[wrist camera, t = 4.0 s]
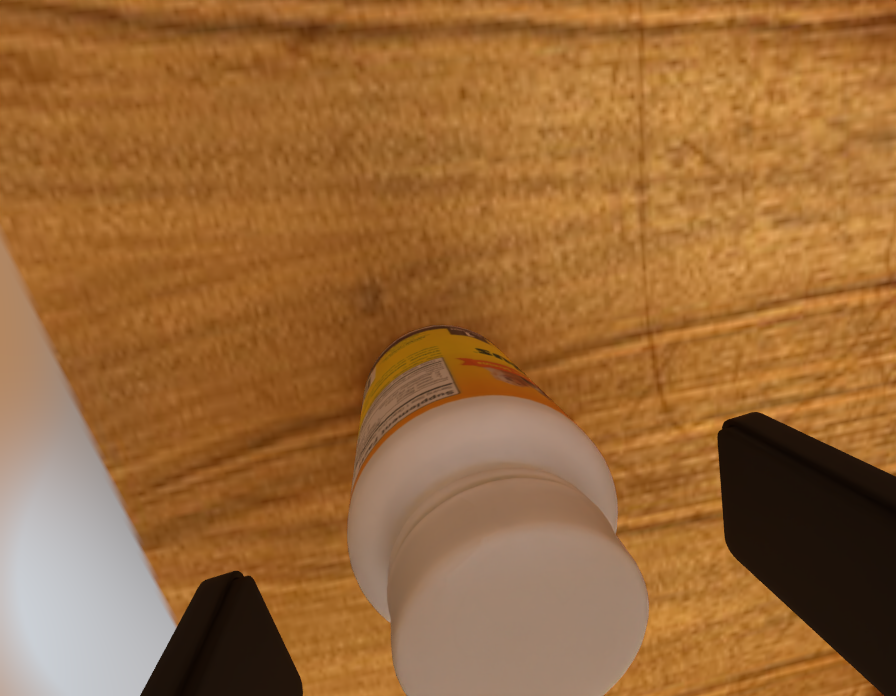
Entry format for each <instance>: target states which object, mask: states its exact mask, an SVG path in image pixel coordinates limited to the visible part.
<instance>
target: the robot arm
mask: <svg viewBox="0 0 896 696" xmlns="http://www.w3.org/2000/svg"><path fill="white" fill-rule="evenodd" d="M718 452H719V466H720V479H721V493H722V507H723V520H724V534H725V541H726V544H727V546H728V548H729V550H730V552H731V553H732V554H733V556H734V557H735V558H736V559H737V560H738V561H739V562H740V563H741V564H742V565H743V566H745V567H746V568H747V569H748V570H749V571H750V572H751V573H752V574H753V575H754V576H755V577H756V578H758V579H759V580H760V581H761V582H762V583H763V584H764V585H765V586H766V587H767V588H768V589H769V590H771V591H772V592H773V593H774V594H775V595H776V596H777V597H778V598H779V599H780V600H781V601H782V602H784V603H785V604H786V605H787V606H788V607H789V608H790V609H791V610H792V611H793V612H794V613H795V614H797V615H798V616H799V617H800V618H801V619H802V620H803V621H804V622H805V623H806V624H807V625H808V626H810V627H811V628H812V629H813V630H814V631H815V632H816V633H817V634H818V635H819V636H820V637H822V638H823V639H824V640H825V641H826V642H827V643H828V644H829V645H830V646H831V647H832V648H833V649H835V650H836V651H837V652H838V653H839V654H840V655H841V656H842V657H843V658H844V659H845V660H846V661H848V662H849V663H850V664H851V665H852V666H853V667H854V668H855V669H856V670H857V671H858V672H859V673H861V674H862V675H863V676H864V677H865V678H866V679H867V680H868V681H869V682H870V683H871V684H872V685H874V686H875V687H876V688H877V689H878V690H879V691H880V692H881V693H882V694H883V695H884V696H896V477H895V476H893V475H891V474H889V473H887V472H885V471H883V470H880V469H878V468H876V467H874V466H872V465H870V464H868V463H866V462H863V461H861V460H859V459H857V458H855V457H853V456H851V455H849V454H846V453H844V452H842V451H840V450H838V449H836V448H834V447H832V446H830V445H827V444H825V443H823V442H821V441H819V440H817V439H815V438H813V437H810V436H808V435H806V434H804V433H802V432H800V431H798V430H796V429H793V428H791V427H789V426H787V425H785V424H783V423H781V422H779V421H777V420H774V419H772V418H770V417H768V416H766V415H764V414H761V413H758V412H752V413H748V414H745V415H742V416H739V417H735V418H732V419H729V420H727V421H725V422H724V424H723V426H722V430H720V431H719V433H718ZM140 696H303V689H302V682H301V679H300V676H299V674H298V672H297V670H296V667H295V665H294V663H293V661H292V659H291V657H290V655H289V653H288V651H287V648H286V646H285V644H284V642H283V640H282V638H281V636H280V634H279V632H278V629H277V627H276V625H275V623H274V621H273V619H272V617H271V615H270V613H269V610H268V608H267V606H266V604H265V602H264V600H263V598H262V596H261V594H260V591H259V589H258V587H257V585H256V583H255V581H254V579H253V578H252V577H251V576H245V577H244V576H243V574H242V573H241V572H239V571H233V572H230V573H226V574H223V575H220V576H217V577H213V578H210V579H207V580H205V581H203V582H202V583H201V584H200V586H199V587H198V589H197V591H196V593H195V595H194V596H193V598H192V600H191V602H190V604H189V606H188V608H187V609H186V611H185V613H184V615H183V617H182V619H181V621H180V622H179V624H178V626H177V628H176V630H175V632H174V634H173V635H172V637H171V639H170V641H169V643H168V645H167V647H166V649H165V650H164V652H163V654H162V656H161V658H160V660H159V662H158V663H157V665H156V667H155V669H154V671H153V673H152V675H151V676H150V679H149V680H148V682H147V684H146V686H145V688H144V690H143V691H142V693H141V695H140Z"/></svg>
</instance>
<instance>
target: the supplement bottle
mask: <svg viewBox="0 0 896 696" xmlns="http://www.w3.org/2000/svg"><path fill="white" fill-rule="evenodd" d="M617 516H618V507H617V496H616V490H615V486H614V482H613V479H612V476H611V473H610V470H609V468H608V466H607V464H606V461H605V459H604V458H603V456H602V455H601V453H600V451H599V450H598V449H597V447H596V446H595V444H594V443H593V442H592V441H591V440H590V438H589V437H588V436H587V435H586V434H585V433H584V432H583V431H582V429H581V428H580V427H579V426H578V425H577V424H576V423H575V422H574V421H573V420H572V419H570V418H569V417H568V416H567V415H566V414H565V413H564V412H563V411H562V410H561V409H560V408H559V407H558V406H557V405H556V404H555V403H554V402H553V401H552V400H551V399H550V398H549V397H548V396H547V395H546V394H545V393H544V392H543V391H542V390H541V389H540V388H539V387H538V386H536V385H535V384H534V383H533V382H532V381H531V380H530V379H529V378H528V377H527V376H526V375H525V374H524V373H523V372H522V371H521V370H520V369H519V368H518V367H517V366H516V365H515V364H514V363H513V362H512V361H511V360H510V359H509V358H508V357H506V356H505V355H504V354H503V353H502V352H501V351H500V350H499V349H498V348H497V347H496V346H495V345H494V344H492V343H491V342H490V341H489V340H487V339H486V338H484V337H483V336H481V335H479V334H477V333H475V332H473V331H471V330H468V329H464V328H461V327H456V326H449V325H437V326H429V327H424V328H420V329H417V330H414V331H412V332H409V333H407V334H406V335H404V336H402V337H400V338H399V339H397V340H396V341H394V342H393V343H392V344H391V345H389V346H388V347H387V348H386V349H385V350H384V351H383V352H382V354H381V355H380V356H379V357H378V359H377V360H376V362H375V363H374V365H373V367H372V369H371V371H370V373H369V376H368V379H367V381H366V385H365V390H364V396H363V403H362V410H361V418H360V426H359V432H358V439H357V449H356V457H355V466H354V474H353V482H352V490H351V498H350V504H349V514H348V530H347V539H348V552H349V557H350V562H351V566H352V569H353V572H354V575H355V577H356V579H357V582H358V584H359V586H360V588H361V590H362V592H363V593H364V595H365V596H366V598H367V599H368V601H369V602H370V603H371V604H372V605H373V607H374V608H375V609H376V610H377V611H378V612H379V613H380V614H381V615H382V616H383V617H384V618H385V619H386V620H387V621H389V622H390V623H391V647H392V657H393V664H394V668H395V672H396V676H397V678H398V680H399V683H400V685H401V687H402V689H403V691H404V692H405V693H406V695H407V696H603V695H604V694H605V693H607V692H608V691H609V690H610V689H611V688H612V687H613V686H614V685H615V684H616V683H617V682H618V680H619V679H620V678H621V677H622V676H623V675H624V673H625V672H626V670H627V669H628V667H629V666H630V664H631V663H632V661H633V660H634V658H635V656H636V654H637V652H638V650H639V648H640V646H641V644H642V641H643V638H644V634H645V630H646V626H647V622H648V612H649V602H648V593H647V589H646V585H645V582H644V579H643V577H642V574H641V572H640V570H639V568H638V566H637V564H636V562H635V561H634V559H633V558H632V556H631V555H630V554H629V552H628V551H627V550H626V548H625V547H624V545H623V544H622V543H621V541H620V540H619V539H618V537H617V536H616V530H617Z"/></svg>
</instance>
